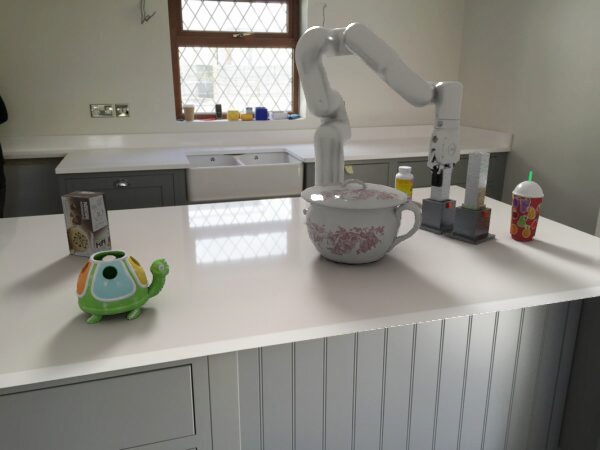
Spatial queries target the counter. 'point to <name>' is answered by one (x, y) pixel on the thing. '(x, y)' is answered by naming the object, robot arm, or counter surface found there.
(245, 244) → the counter surface
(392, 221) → the chamber pot
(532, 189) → the smoothie
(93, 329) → the counter surface
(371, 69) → the robot arm
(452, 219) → the stand sleeve
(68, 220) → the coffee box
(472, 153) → the twin stand
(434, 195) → the column
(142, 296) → the turtle holder
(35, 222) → the counter surface
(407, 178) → the supplement bottle
